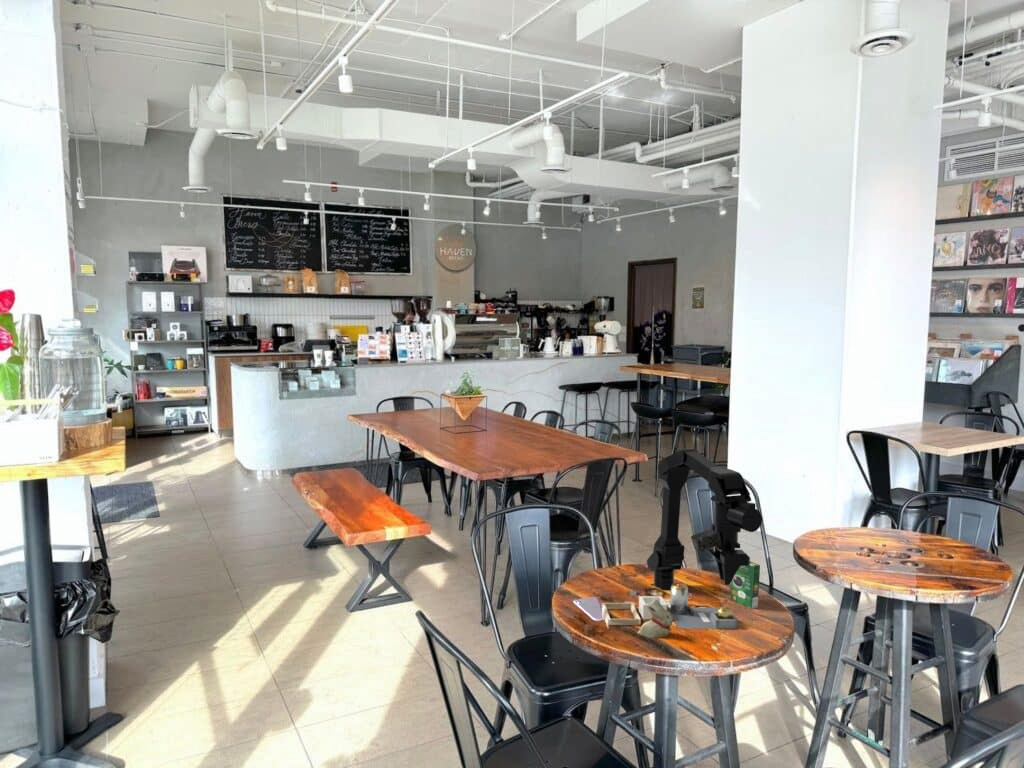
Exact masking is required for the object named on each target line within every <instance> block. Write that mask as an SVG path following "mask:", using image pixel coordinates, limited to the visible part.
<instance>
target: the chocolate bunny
mask: <svg viewBox="0 0 1024 768" xmlns="http://www.w3.org/2000/svg"><path fill="white" fill-rule="evenodd" d="M647 608H648V609H649V610H650V612H651V614H652V618H651V619H649V620H648V621H646V622H644V623H643V624H642V625H640V626H641V627H639V630H638V632H637V634H638V635H640V636H642V637H647V638H652V639H654V638H656V639H657V638H667V637H668V636H669V634H670V632H671V631H672V629H671V628H670V627H671V626H672V624H673V622H674V618H673V617H672V615H671V613H669V612H668V611H666V610H665V609H664V608H663V607H662V605H661V604H660V603H659V602H658V600H656V599H654V600H653V602H652V603H650V604H648V605H647Z"/></svg>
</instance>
